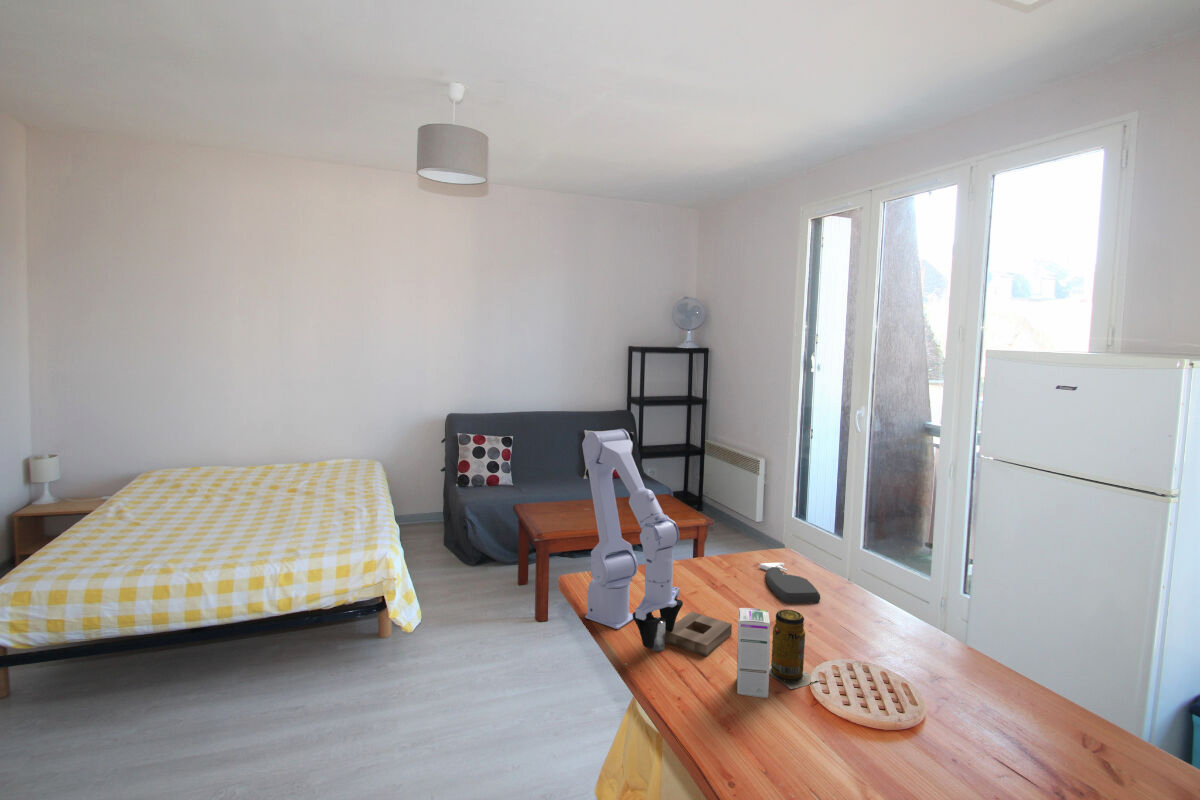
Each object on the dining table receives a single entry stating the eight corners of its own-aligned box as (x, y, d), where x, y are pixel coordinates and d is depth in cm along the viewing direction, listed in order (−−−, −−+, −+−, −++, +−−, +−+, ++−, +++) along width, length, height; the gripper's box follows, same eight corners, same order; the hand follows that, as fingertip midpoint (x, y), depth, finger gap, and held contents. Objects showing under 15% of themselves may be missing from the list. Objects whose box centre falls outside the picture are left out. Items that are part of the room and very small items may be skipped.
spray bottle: (781, 605, 154) (750, 569, 178) (824, 604, 154) (787, 568, 179) (782, 593, 153) (751, 559, 178) (825, 593, 154) (788, 558, 178)
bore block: (664, 641, 134) (664, 630, 133) (691, 621, 143) (691, 611, 143) (706, 656, 128) (706, 645, 128) (731, 634, 137) (731, 623, 137)
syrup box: (768, 698, 113) (772, 623, 112) (735, 694, 115) (738, 619, 113) (766, 681, 119) (770, 609, 117) (735, 678, 120) (738, 606, 119)
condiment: (788, 660, 127) (791, 604, 126) (819, 681, 119) (822, 622, 118) (760, 668, 124) (762, 611, 122) (790, 690, 116) (793, 629, 115)
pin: (646, 648, 131) (647, 621, 130) (654, 642, 134) (655, 615, 133) (659, 653, 129) (660, 625, 128) (667, 646, 132) (668, 620, 131)
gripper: (657, 593, 122) (655, 659, 123) (692, 571, 133) (691, 632, 134) (627, 585, 126) (626, 649, 127) (664, 564, 137) (663, 623, 139)
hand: (657, 639), depth 131 cm, fingers open, 7 cm apart
